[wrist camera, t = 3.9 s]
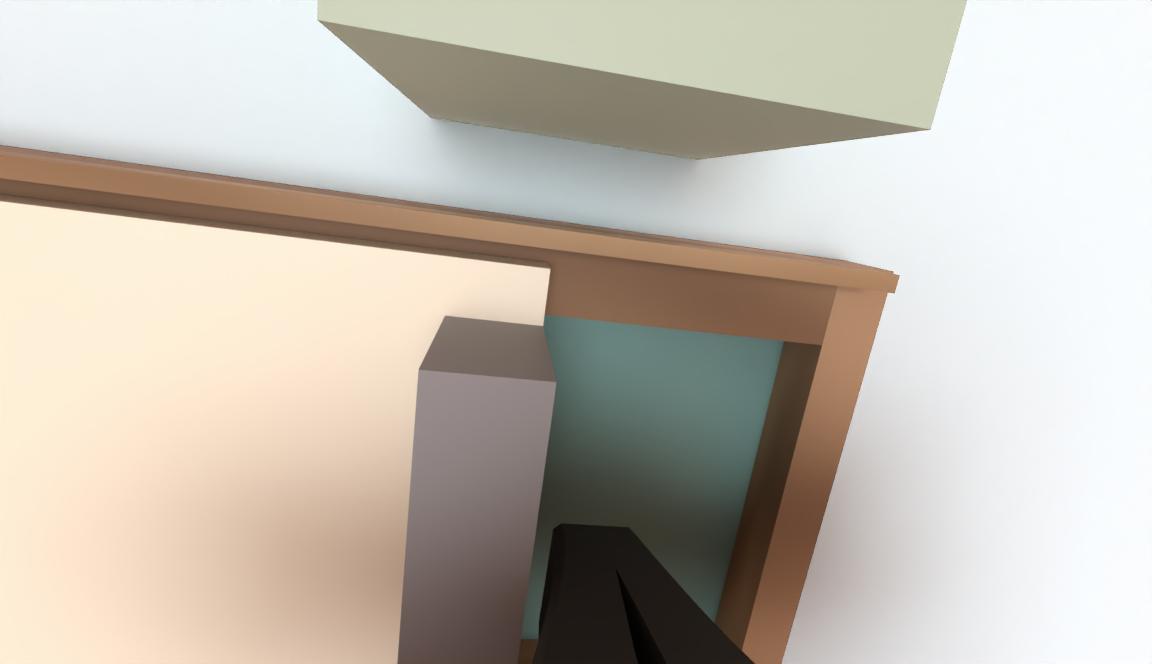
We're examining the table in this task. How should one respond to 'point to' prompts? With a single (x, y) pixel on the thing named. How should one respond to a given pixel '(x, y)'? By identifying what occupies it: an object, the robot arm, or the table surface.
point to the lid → (263, 443)
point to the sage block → (663, 67)
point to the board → (618, 372)
